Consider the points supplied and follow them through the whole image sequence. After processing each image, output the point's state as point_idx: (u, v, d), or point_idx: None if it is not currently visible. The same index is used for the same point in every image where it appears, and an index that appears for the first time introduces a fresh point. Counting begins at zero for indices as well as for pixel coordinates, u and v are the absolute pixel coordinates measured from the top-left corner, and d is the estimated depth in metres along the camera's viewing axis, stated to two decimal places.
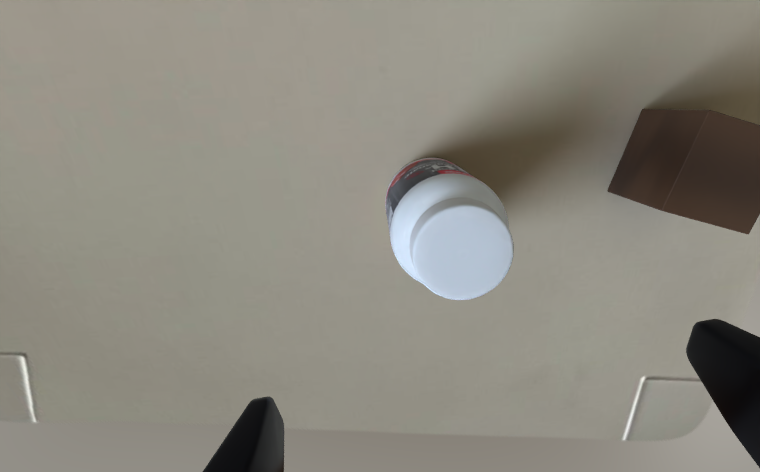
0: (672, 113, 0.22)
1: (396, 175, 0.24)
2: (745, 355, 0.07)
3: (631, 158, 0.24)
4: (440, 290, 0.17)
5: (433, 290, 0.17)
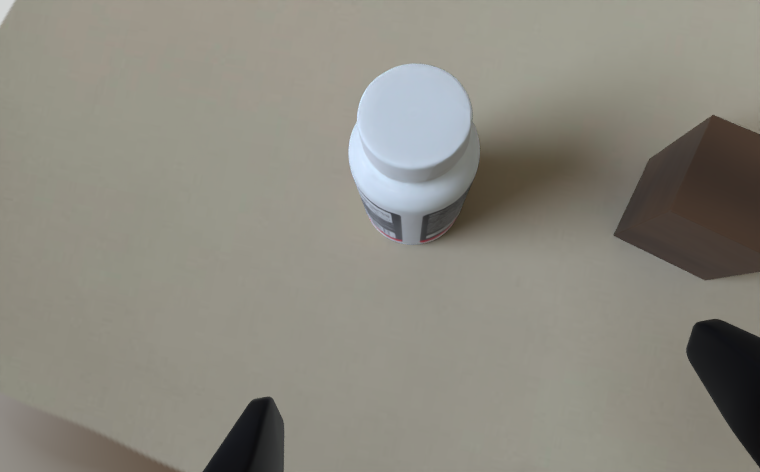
0: (677, 141, 0.21)
1: None
2: (745, 355, 0.07)
3: (638, 196, 0.22)
4: (379, 148, 0.14)
5: (371, 147, 0.14)
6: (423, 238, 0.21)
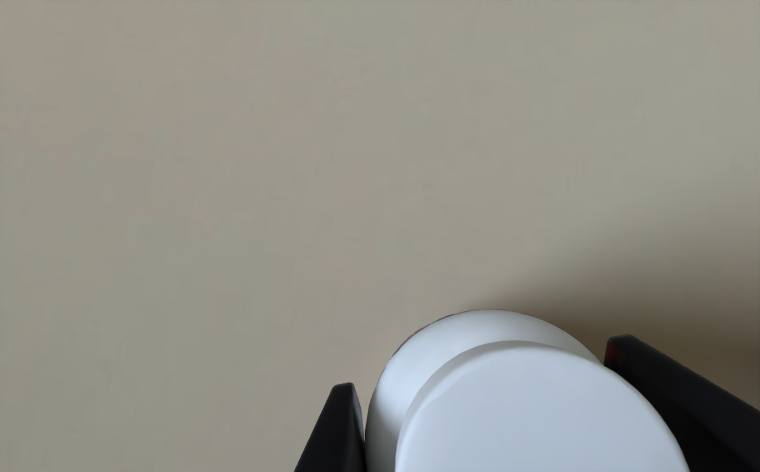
0: None
1: None
2: (645, 372, 0.07)
3: None
4: None
5: None
6: None
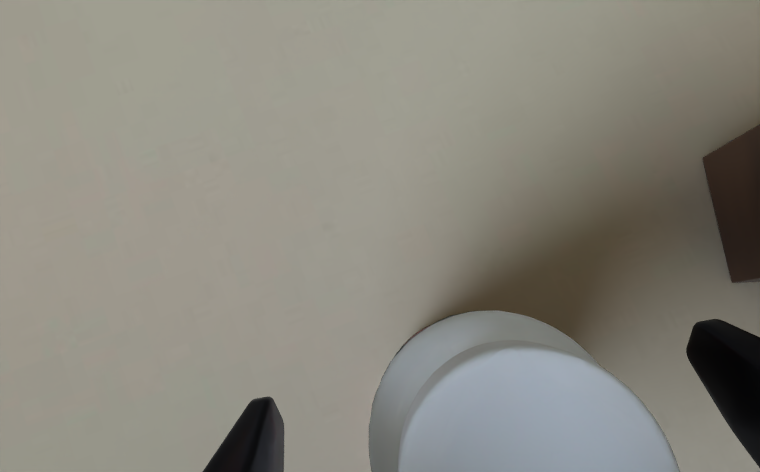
0: (757, 131, 0.14)
1: None
2: (745, 355, 0.07)
3: (737, 220, 0.15)
4: None
5: None
6: None
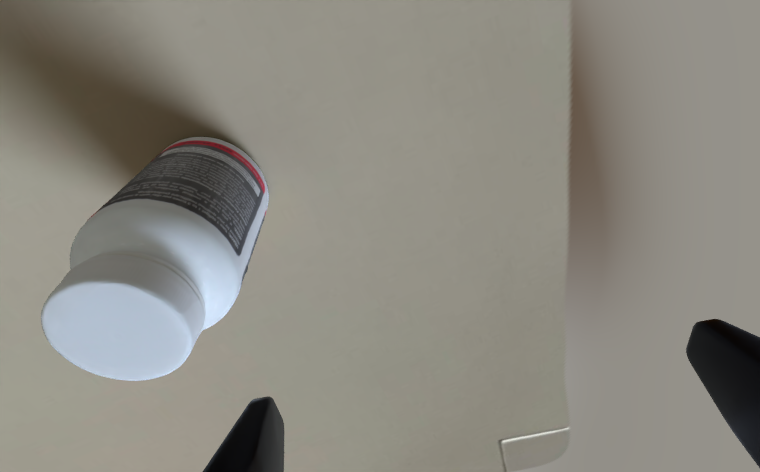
0: None
1: None
2: (745, 355, 0.07)
3: None
4: (172, 363, 0.13)
5: (172, 369, 0.13)
6: (260, 195, 0.19)
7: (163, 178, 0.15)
